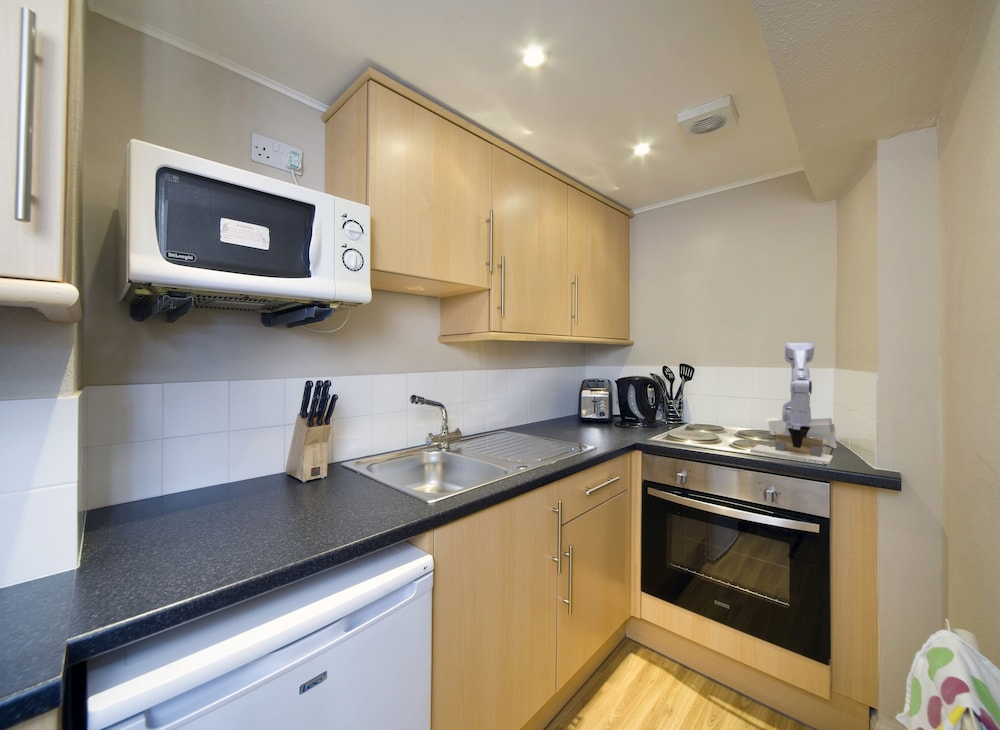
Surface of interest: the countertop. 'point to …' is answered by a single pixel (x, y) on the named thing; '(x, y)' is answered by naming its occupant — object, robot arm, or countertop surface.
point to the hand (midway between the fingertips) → (798, 445)
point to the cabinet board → (793, 453)
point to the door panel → (804, 447)
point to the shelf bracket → (817, 429)
